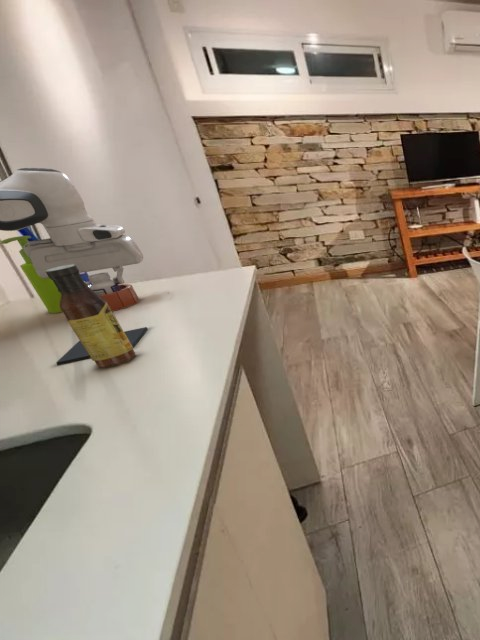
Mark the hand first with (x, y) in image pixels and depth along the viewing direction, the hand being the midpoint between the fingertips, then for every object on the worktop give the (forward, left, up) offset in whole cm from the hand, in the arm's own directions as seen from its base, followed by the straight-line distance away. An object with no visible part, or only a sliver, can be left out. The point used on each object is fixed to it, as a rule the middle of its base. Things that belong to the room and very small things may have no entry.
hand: (104, 286), depth 125 cm
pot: (0, 0, -6) cm, 6 cm away
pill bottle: (0, 0, -6) cm, 6 cm away
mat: (+7, -34, -6) cm, 35 cm away
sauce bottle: (+12, -46, -6) cm, 48 cm away
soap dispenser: (-13, +7, -6) cm, 16 cm away
